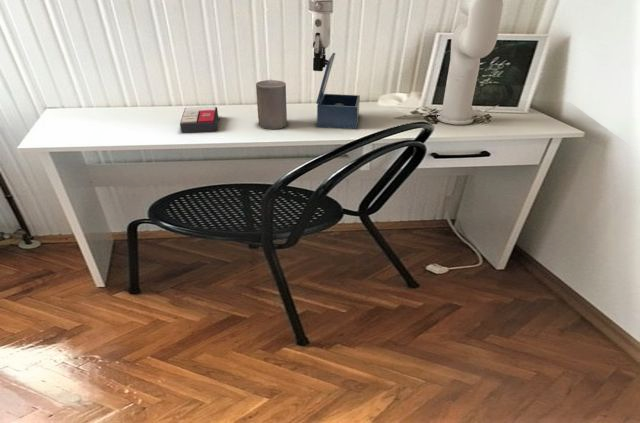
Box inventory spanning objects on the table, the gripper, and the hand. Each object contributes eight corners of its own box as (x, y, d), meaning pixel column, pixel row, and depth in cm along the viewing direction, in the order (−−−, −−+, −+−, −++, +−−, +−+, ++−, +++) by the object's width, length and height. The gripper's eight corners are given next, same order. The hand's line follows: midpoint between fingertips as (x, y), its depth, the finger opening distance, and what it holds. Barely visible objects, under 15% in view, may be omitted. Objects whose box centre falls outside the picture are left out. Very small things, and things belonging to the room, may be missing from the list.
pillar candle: (252, 125, 137) (248, 79, 129) (272, 118, 144) (270, 74, 136) (273, 131, 132) (271, 84, 124) (293, 123, 139) (292, 78, 131)
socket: (343, 117, 143) (344, 103, 140) (342, 120, 140) (343, 105, 137) (334, 117, 143) (334, 102, 140) (333, 120, 140) (333, 105, 138)
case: (358, 115, 147) (359, 95, 143) (356, 129, 135) (357, 107, 131) (322, 113, 149) (323, 93, 145) (317, 126, 136) (317, 105, 133)
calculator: (179, 121, 128) (184, 105, 140) (181, 134, 130) (186, 117, 143) (214, 120, 130) (216, 104, 142) (216, 133, 132) (218, 116, 144)
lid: (335, 53, 137) (321, 48, 137) (330, 61, 125) (314, 56, 125) (324, 92, 145) (310, 88, 145) (318, 104, 132) (303, 99, 132)
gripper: (329, 10, 117) (327, 75, 126) (336, 5, 131) (333, 64, 141) (303, 9, 118) (303, 73, 127) (313, 5, 132) (312, 63, 141)
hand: (319, 68), depth 134 cm, fingers closed on lid, 5 cm apart
